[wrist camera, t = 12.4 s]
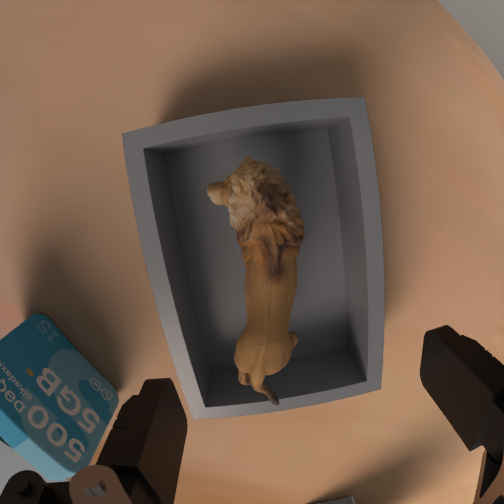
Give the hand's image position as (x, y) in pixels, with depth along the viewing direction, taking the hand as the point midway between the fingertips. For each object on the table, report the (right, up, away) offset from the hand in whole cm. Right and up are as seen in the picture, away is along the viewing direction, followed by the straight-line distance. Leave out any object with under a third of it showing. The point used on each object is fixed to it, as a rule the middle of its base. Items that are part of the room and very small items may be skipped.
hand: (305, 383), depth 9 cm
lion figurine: (-1, +1, +14) cm, 14 cm away
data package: (-20, -7, +18) cm, 28 cm away
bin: (-1, +4, +16) cm, 16 cm away
